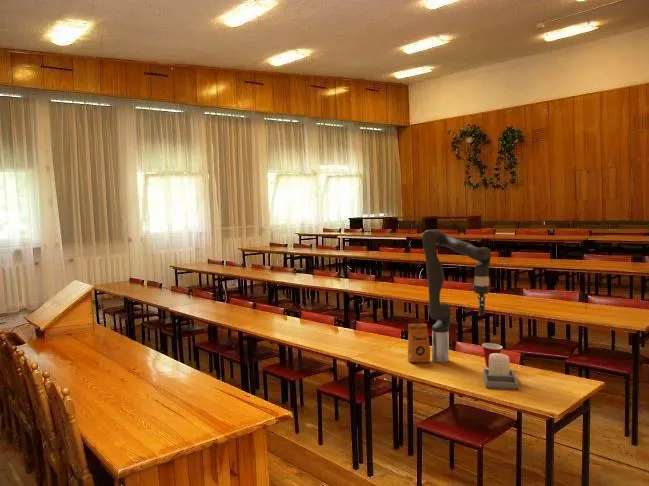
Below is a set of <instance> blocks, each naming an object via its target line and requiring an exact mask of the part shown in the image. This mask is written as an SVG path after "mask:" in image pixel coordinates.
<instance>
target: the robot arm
mask: <svg viewBox="0 0 649 486" xmlns="http://www.w3.org/2000/svg"><path fill="white" fill-rule="evenodd" d="M421 242H422V246H423V250H424V252H423V253H424V258H425V265H426V276H427V285H428V311H429V316H430V318H431V319H432V320H433V321H436V322H435V323H434V324H432V327H431V329H432V331H431V332H432V333H431V336H432V337H431V338H432V339H431V340H432V342H431V354H432V355H431V361H432V362H436V363H447V362H449V360H450V359H449V357H450V353H449V351H450V349H449V348H450V347H449V343H450V342H449V341H450V340H449V337H450V336H449V335H450V334H449V333H450V332H449V329H450V327H451V317H452V316H451V312H452V311H451V308H450V307H451V306H450V305H449V303H446V302H441V299H440V298H441V297H440V296H441V292H442V291H441V290H442V288H443V285H444V281H445V276H444V269H443V265H442V263H441V260H440V259H439V257H438V253H437V247H436V246H442V247H446V248H448V249H450V250H451V251H454V252H456V253H458V254H460V255H464V256H467V257H469V258H470V259H471V260H474V261H477V265H475V267H474V279H473V280H474V284H473V287H474V290H473V291H474V292H473V293H474V294H478V295H477V303H478V312H479V317H484V316H485V308H486V300H487V299H486V296H485V295H486V294H489V293H490V278H489V267H490V264H491V258H492V257H491V256H492V254H491V250H490V249H489V248H488V247H486V246H482V247H481V246H480V247H477V246H474V244H472V243H470V242H467V241H465V240H464V241H463V240H460V239H458V238H454V237H452V236H449V235H447V234H446V233H444V232H442V231H440V230H437V229H427V230H425V231H423V233H422V237H421Z"/></svg>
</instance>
